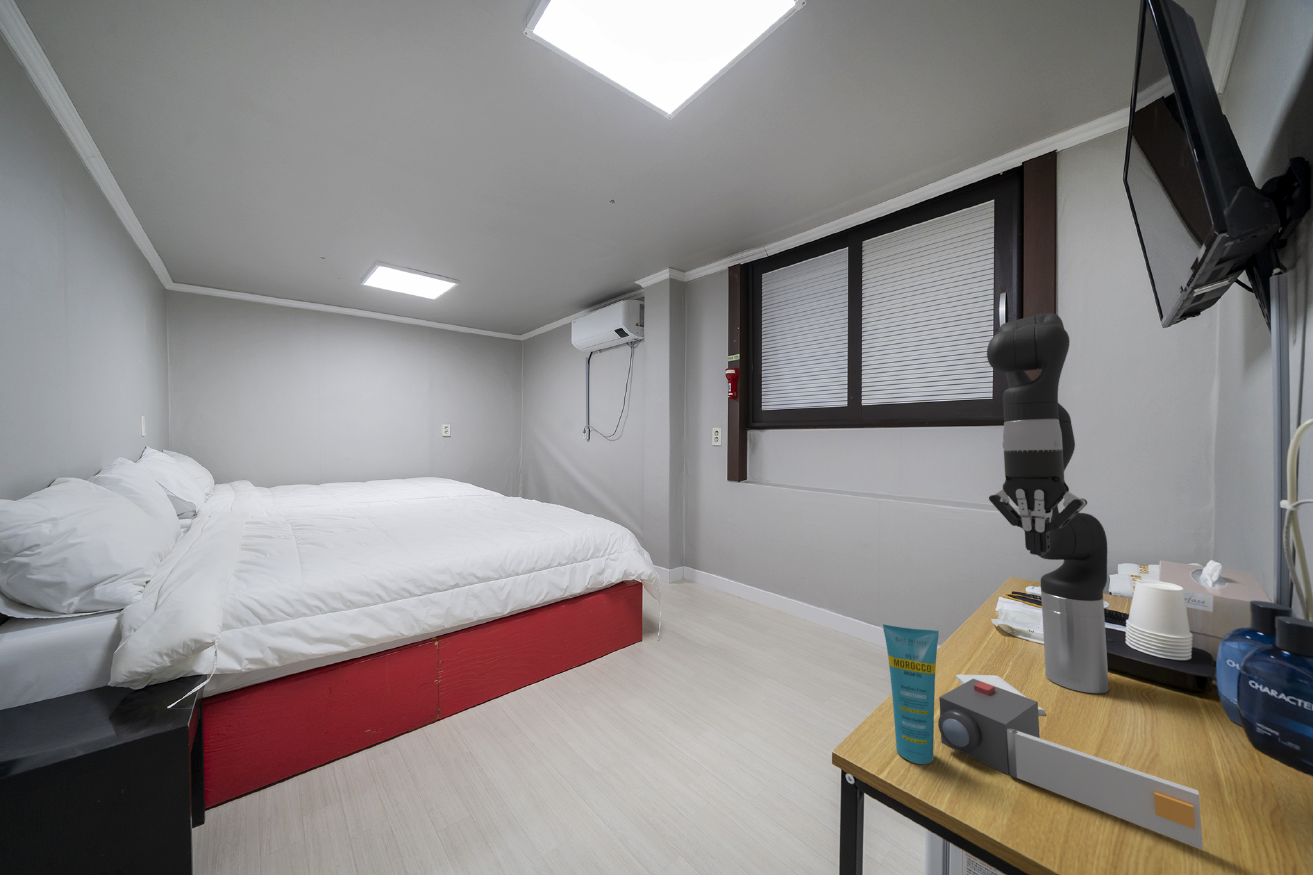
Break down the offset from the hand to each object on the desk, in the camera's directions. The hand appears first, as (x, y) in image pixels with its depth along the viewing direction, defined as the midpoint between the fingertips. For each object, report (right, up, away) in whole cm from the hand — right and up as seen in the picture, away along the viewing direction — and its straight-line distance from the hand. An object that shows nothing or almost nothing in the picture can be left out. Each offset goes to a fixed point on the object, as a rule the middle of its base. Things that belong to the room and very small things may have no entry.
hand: (1037, 554), depth 75 cm
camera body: (-11, -29, -4) cm, 31 cm away
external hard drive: (+2, -30, +11) cm, 32 cm away
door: (-6, -28, -17) cm, 33 cm away
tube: (-23, -30, -5) cm, 38 cm away
